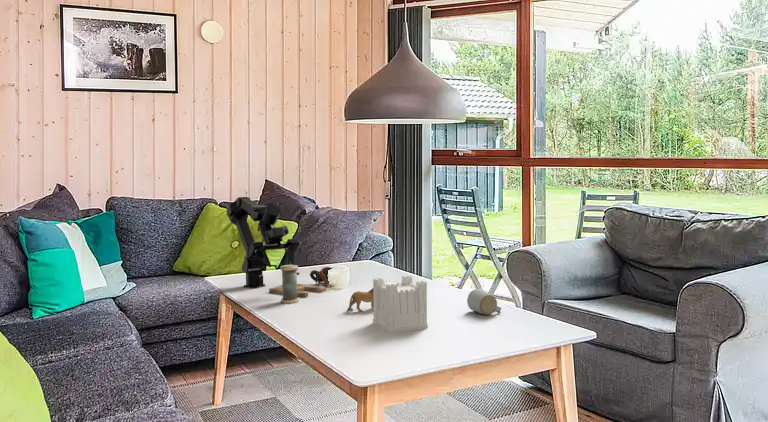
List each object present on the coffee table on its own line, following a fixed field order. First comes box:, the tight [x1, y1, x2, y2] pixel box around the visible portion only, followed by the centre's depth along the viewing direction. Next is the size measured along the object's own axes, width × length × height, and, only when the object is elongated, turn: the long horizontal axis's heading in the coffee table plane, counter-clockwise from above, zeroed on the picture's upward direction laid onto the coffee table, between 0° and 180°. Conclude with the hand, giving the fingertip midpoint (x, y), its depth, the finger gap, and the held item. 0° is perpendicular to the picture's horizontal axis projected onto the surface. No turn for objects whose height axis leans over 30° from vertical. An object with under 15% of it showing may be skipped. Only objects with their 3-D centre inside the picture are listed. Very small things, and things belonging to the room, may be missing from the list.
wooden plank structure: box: [268, 272, 327, 298], centre depth 258 cm, size 18×13×6 cm
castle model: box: [372, 274, 429, 334], centre depth 207 cm, size 13×15×14 cm
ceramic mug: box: [466, 288, 502, 316], centre depth 222 cm, size 11×8×8 cm
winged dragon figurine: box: [309, 266, 333, 288], centre depth 271 cm, size 12×10×8 cm
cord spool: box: [279, 264, 300, 304], centre depth 241 cm, size 6×6×13 cm
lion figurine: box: [346, 287, 374, 313], centre depth 227 cm, size 15×5×9 cm, turn 117°
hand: (281, 264), depth 246 cm, fingers open, 9 cm apart
